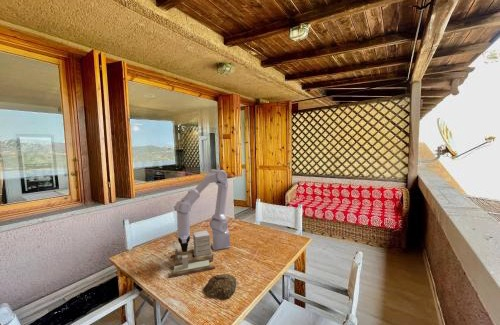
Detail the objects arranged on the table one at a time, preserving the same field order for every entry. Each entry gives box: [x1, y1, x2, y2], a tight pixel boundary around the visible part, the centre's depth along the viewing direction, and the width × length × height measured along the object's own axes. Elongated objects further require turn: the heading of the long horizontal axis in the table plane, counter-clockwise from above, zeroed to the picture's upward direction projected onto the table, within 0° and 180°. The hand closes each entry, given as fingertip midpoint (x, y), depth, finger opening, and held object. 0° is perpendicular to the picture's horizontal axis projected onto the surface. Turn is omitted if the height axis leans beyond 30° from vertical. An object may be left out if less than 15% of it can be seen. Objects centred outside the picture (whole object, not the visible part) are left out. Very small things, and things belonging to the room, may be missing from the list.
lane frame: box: [168, 254, 216, 278], centre depth 107 cm, size 20×20×1 cm
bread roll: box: [203, 273, 237, 300], centre depth 87 cm, size 13×12×5 cm
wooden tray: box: [174, 245, 214, 265], centre depth 111 cm, size 18×10×5 cm, turn 108°
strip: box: [173, 255, 211, 273], centre depth 102 cm, size 16×5×6 cm, turn 108°
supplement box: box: [192, 229, 211, 257], centre depth 112 cm, size 7×7×13 cm
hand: (184, 251), depth 109 cm, fingers closed
